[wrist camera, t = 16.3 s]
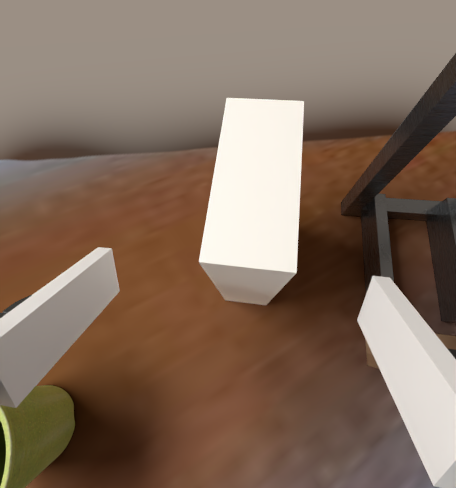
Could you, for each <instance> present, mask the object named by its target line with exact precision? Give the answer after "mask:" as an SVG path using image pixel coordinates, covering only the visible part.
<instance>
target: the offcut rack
mask: <svg viewBox="0 0 456 488" xmlns="http://www.w3.org/2000/svg"><path fill="white" fill-rule="evenodd" d="M455 116H456V54H455V55H454V56H453V57H452V59H451V60H450V61H449V63H448V64H447V65H446V66H445V68H444V69H443V70H442V72H441V73H440V74H439V76H438V77H437V78H436V80H435V81H434V82H433V83H432V85H431V86H430V87H429V89H428V90H427V91H426V92H425V94H424V95H423V96H422V98H421V99H420V101H419V102H418V103H417V105H416V106H415V107H414V108H413V110H412V111H411V112H410V113H409V115H408V116H407V117H406V119H405V120H404V121H403V122H402V124H401V125H400V126H399V128H398V129H397V130H396V132H395V133H394V134H393V135H392V137H391V138H390V139H389V141H388V142H387V143H386V145H385V146H384V147H383V148H382V150H381V151H380V152H379V154H378V155H377V156H376V158H375V159H374V160H373V162H372V163H371V164H370V165H369V167H368V168H367V169H366V171H365V172H364V173H363V175H362V176H361V177H360V178H359V180H358V181H357V182H356V184H355V185H354V186H353V188H352V189H351V190H350V191H349V193H348V194H347V195H346V197H345V198H344V199H343V201H342V202H341V213H342V215H351V216H361V223H362V239H363V255H364V272H365V288H366V293H367V291H368V288H369V285H370V282H371V279H372V276H380V277H390V278H391V280H392V281H393V282H394V278H393V267H392V257H391V247H390V237H389V227H388V218H393V219H407V220H421V221H426V222H427V228H428V235H429V242H430V248H431V255H432V261H433V268H434V274H435V281H436V288H437V294H438V301H439V307H440V314H441V321H445V322H456V199H455V198H446V199H445V200H443V201H426V200H411V199H395V198H386V197H385V194H378V193H379V192H380V191H381V190H382V189H383V188H384V187H385V186H386V185H387V184H388V183H389V182H390V181H391V180H392V179H393V178H394V177H395V176H396V175H397V174H398V173H399V172H400V171H401V170H402V169H403V168H404V167H405V166H406V165H407V164H408V163H409V162H410V161H411V160H412V159H413V158H414V157H415V156H416V155H417V154H418V153H419V152H420V151H421V150H422V149H423V148H424V147H425V146H426V145H427V144H428V143H429V142H430V141H431V140H432V139H433V138H434V137H435V136H436V135H437V134H438V133H439V132H440V131H441V130H442V129H443V128H444V127H445V126H446V125H447V124H448V123H449V122H450V121H451V120H452V119H453V118H454V117H455Z"/></svg>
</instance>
